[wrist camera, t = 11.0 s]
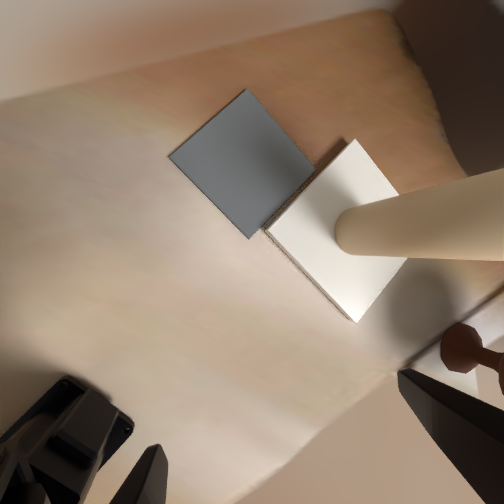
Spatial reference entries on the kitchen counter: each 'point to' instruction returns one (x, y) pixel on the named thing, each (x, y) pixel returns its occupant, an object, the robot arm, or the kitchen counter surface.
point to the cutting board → (323, 236)
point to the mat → (244, 163)
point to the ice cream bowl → (469, 352)
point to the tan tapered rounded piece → (431, 222)
